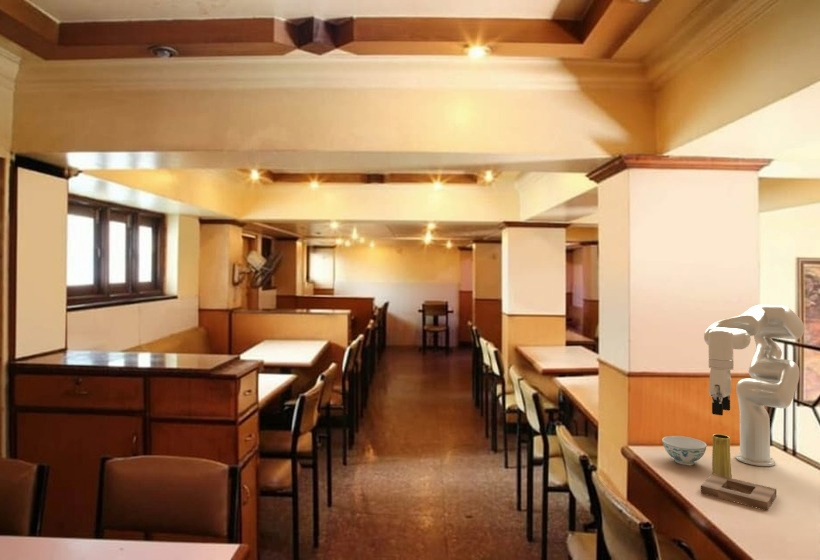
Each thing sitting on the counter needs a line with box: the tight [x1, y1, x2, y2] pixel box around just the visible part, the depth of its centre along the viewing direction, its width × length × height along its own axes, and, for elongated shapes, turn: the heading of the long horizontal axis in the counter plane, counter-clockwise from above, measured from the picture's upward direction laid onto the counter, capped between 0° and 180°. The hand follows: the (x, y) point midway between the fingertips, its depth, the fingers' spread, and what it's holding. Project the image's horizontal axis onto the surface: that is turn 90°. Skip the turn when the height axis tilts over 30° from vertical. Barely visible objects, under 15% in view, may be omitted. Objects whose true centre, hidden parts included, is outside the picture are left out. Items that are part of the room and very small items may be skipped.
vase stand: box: [700, 473, 777, 511], centre depth 160 cm, size 14×18×2 cm
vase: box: [711, 433, 733, 478], centre depth 176 cm, size 6×6×14 cm
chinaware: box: [661, 435, 708, 466], centre depth 190 cm, size 15×15×8 cm
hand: (721, 412), depth 175 cm, fingers open, 9 cm apart
